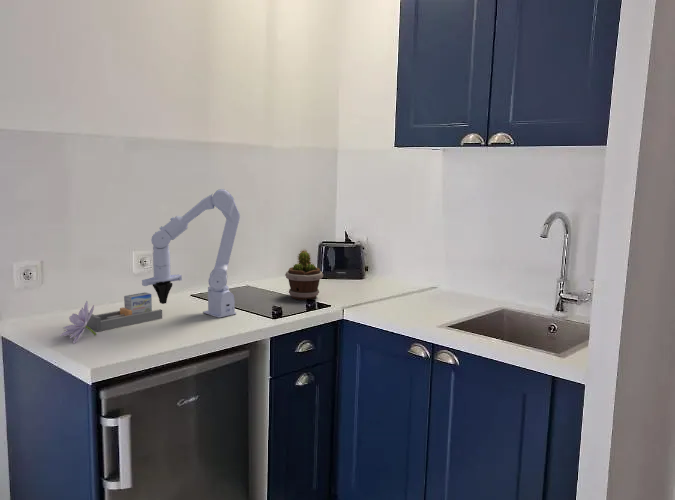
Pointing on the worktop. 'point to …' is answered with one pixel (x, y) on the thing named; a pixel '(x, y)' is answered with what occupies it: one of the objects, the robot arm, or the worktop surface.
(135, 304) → the medicine box
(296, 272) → the flowerpot
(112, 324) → the gray tray
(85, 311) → the water lily
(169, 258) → the robot arm
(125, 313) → the pusher
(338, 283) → the worktop surface
